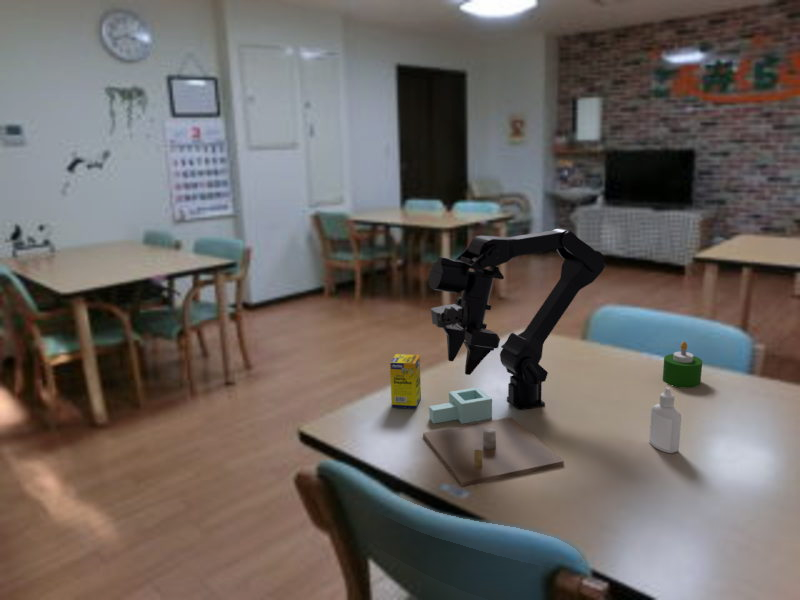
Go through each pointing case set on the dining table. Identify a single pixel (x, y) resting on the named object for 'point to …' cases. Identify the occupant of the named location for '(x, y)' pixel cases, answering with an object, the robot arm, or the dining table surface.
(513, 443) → the board
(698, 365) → the candle
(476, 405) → the collar
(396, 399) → the supplement box
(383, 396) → the dining table surface
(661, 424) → the eye dropper bottle
